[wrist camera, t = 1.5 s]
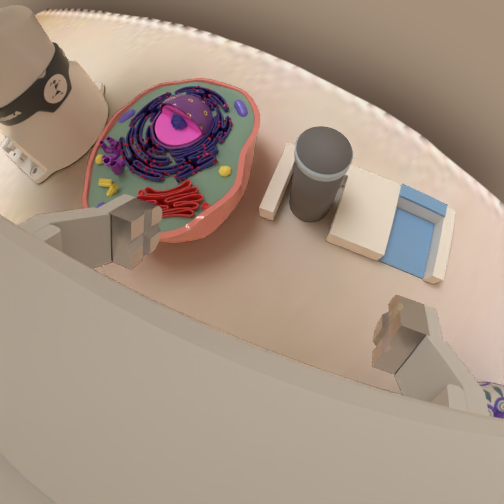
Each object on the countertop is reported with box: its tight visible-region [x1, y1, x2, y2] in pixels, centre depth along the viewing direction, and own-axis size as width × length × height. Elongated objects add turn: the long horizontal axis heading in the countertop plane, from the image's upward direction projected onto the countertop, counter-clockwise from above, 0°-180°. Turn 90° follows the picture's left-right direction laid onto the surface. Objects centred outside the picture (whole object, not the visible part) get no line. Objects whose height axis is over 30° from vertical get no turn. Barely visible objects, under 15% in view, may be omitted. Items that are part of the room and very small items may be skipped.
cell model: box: [82, 78, 260, 243], centre depth 30 cm, size 17×20×11 cm
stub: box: [289, 127, 353, 222], centre depth 29 cm, size 5×5×11 cm
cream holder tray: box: [259, 142, 456, 284], centre depth 32 cm, size 21×8×3 cm, turn 68°
